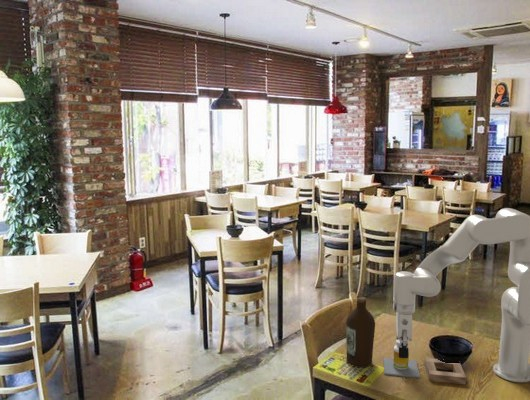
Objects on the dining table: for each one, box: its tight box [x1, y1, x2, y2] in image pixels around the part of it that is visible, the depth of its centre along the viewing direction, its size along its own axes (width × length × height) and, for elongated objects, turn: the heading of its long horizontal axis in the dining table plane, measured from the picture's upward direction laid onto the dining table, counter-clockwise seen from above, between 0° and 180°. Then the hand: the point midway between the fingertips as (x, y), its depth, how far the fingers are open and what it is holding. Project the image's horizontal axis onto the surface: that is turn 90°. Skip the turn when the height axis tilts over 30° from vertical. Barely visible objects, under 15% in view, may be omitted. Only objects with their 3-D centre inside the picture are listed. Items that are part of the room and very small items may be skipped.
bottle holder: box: [424, 357, 467, 385], centre depth 168 cm, size 12×12×2 cm
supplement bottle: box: [392, 339, 410, 370], centre depth 171 cm, size 5×5×10 cm
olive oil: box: [345, 296, 376, 368], centre depth 175 cm, size 11×11×25 cm
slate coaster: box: [382, 357, 421, 379], centre depth 172 cm, size 12×12×1 cm
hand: (402, 351), depth 171 cm, fingers open, 9 cm apart
